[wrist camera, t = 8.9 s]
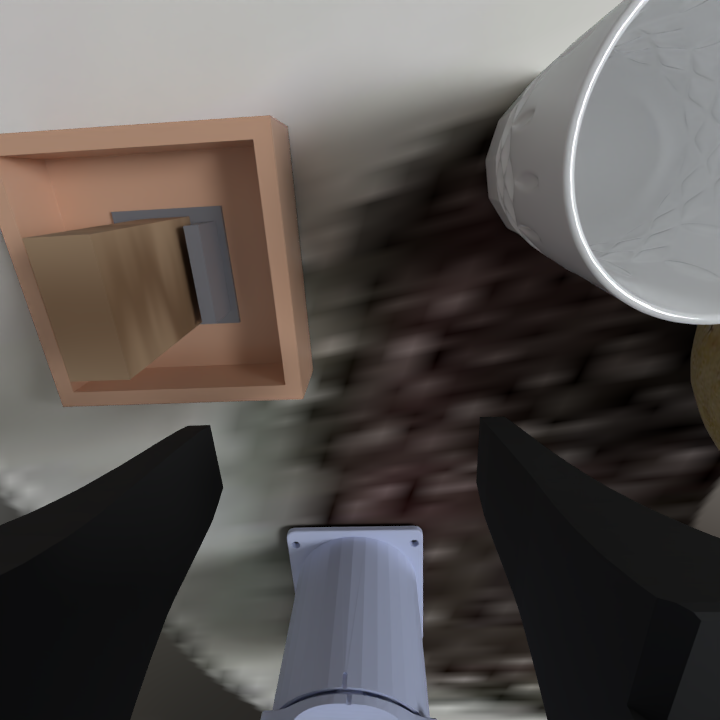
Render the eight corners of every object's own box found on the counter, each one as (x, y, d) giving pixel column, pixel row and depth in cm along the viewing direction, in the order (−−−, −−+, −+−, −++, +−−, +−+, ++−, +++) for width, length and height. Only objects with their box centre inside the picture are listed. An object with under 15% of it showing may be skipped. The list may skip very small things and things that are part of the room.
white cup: (435, 205, 19) (491, 227, 10) (544, 6, 16) (767, -228, 7) (582, 288, 20) (757, 378, 11) (708, 115, 17) (1088, 38, 8)
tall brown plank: (208, 317, 20) (130, 379, 14) (167, 318, 21) (70, 381, 14) (189, 216, 19) (90, 234, 12) (144, 218, 19) (22, 238, 12)
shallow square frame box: (313, 370, 22) (303, 399, 19) (104, 377, 23) (63, 406, 20) (287, 126, 18) (270, 115, 15) (33, 143, 19) (-32, 135, 16)
